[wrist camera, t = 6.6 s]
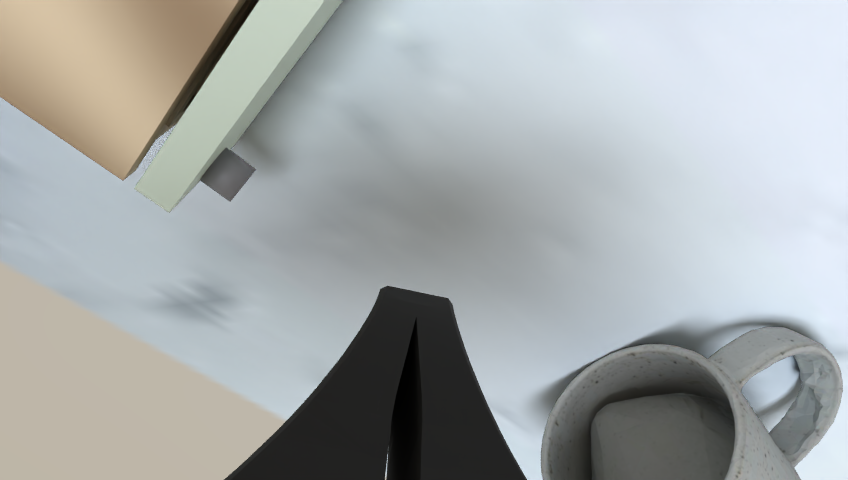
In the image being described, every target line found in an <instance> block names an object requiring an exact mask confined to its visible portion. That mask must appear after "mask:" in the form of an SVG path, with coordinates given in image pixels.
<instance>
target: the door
mask: <svg viewBox="0 0 848 480" xmlns="http://www.w3.org/2000/svg"><path fill="white" fill-rule="evenodd" d="M342 1H343V0H259V1H258V3H257V4H256V6H255V7H254V9H253V10H252V12H251V13H250V15H249V16H248V18H247V19H246V21H245V22H244V24H243V25H242V27H241V28H240V30H239V31H238V33H237V34H236V36H235V37H234V39H233V40H232V42H231V43H230V45H229V46H228V48H227V49H226V51H225V52H224V54H223V55H222V57H221V58H220V60H219V61H218V63H217V64H216V66H215V67H214V69H213V70H212V72H211V73H210V75H209V77H208V78H207V80H206V81H205V83H204V84H203V86H202V87H201V89H200V90H199V92H198V93H197V95H196V96H195V98H194V99H193V101H192V102H191V104H190V105H189V107H188V108H187V110H186V111H185V113H184V114H183V116H182V117H181V119H180V120H179V122H178V123H177V125H176V126H175V128H174V129H173V131H172V132H171V134H170V135H169V137H168V138H167V140H166V141H165V143H164V144H163V146H162V147H161V149H160V150H159V152H158V153H157V155H156V156H155V158H154V159H153V161H152V162H151V164H150V165H149V167H148V168H147V170H146V171H145V173H144V174H143V176H142V177H141V179H140V180H139V182H138V183H137V185H136V186H135V188H134V189H135V190H137V191H138V192H139V193H141V194H142V195H144V196H145V197H147V198H148V199H150V200H151V201H153V202H154V203H156V204H157V205H158V206H160V207H161V208H163V209H164V210H166V211H167V212H169V213H170V212H171V210H172V209H173V208H174V207H175V206H176V205H177V204H178V203H179V202H180V201H181V200H182V199H183V198H184V197H185V196H186V195H187V194H188V193H189V192H190V191H191V190H192V189H193V188H194V187H195V186H196V185H197V183H198V182H199V181H200V180H201V181H202V182H203V183H205V184H206V185H207V186H209V187H210V188H212V189H213V190H214V191H216V192H217V193H219V194H220V195H221V196H223V197H224V198H226V199H227V200H228V201H231V200H232V199H233V198H234V196H235V195H236V194H237V193H238V191H239V190H240V189H241V188H242V186H243V185H244V184H245V183H246V181H247V180H248V179H249V178H250V176H251V175H252V174H253V173H254V171H255V170H256V169H255V168H253V167H252V166H251V165H249V164H248V163H247V162H245V161H244V160H243V159H241V158H240V157H239V156H237V155H236V154H235V153H233V152H232V151H231V150H230V149H231V148H232V147H233V146H234V145H235V144H236V143H237V141H238V140H239V139H240V137H241V136H242V135H243V133H244V132H245V131H246V129H247V128H248V127H249V125H250V124H251V123H252V121H253V120H254V119H255V117H256V116H257V115H258V113H259V112H260V111H261V109H262V108H263V107H264V105H265V104H266V103H267V101H268V100H269V99H270V97H271V96H272V95H273V93H274V92H275V91H276V89H277V88H278V87H279V85H280V84H281V83H282V81H283V80H284V79H285V77H286V76H287V75H288V73H289V72H290V71H291V69H292V68H293V67H294V65H295V64H296V63H297V61H298V60H299V59H300V57H301V56H302V55H303V53H304V52H305V51H306V49H307V48H308V47H309V45H310V44H311V43H312V41H313V40H314V39H315V37H316V36H317V35H318V33H319V32H320V31H321V29H322V28H323V27H324V25H325V24H326V23H327V21H328V20H329V19H330V17H331V16H332V15H333V13H334V12H335V11H336V9H337V8H338V7H339V5H340V4H341V3H342Z"/></svg>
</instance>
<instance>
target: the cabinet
mask: <svg viewBox="0 0 848 480" xmlns="http://www.w3.org/2000/svg"><path fill="white" fill-rule="evenodd" d="M258 1H259V0H0V97H1V98H3V99H4V100H5V101H7V102H8V103H10V104H11V105H13V106H14V107H16V108H17V109H19V110H20V111H22V112H23V113H24V114H26V115H27V116H29V117H30V118H32V119H33V120H35V121H36V122H38V123H39V124H41V125H42V126H44V127H45V128H46V129H48V130H49V131H51V132H52V133H54V134H55V135H57V136H58V137H60V138H61V139H63V140H64V141H65V142H67V143H68V144H70V145H71V146H73V147H74V148H76V149H77V150H79V151H80V152H82V153H83V154H85V155H86V156H87V157H89V158H90V159H92V160H93V161H95V162H96V163H98V164H99V165H101V166H102V167H104V168H105V169H106V170H108V171H109V172H111V173H112V174H114V175H115V176H117V177H118V178H120V179H121V180H124V179H126V178H127V177H128V176H129V175H131V174H132V173H133V172H134V171H136V169H137V168H138V166H139V164H140V163H141V161H142V160H143V158H144V157H145V155H146V154H147V152H148V151H149V149H150V148H151V146H152V144H153V143H154V141H155V140H156V139H157V138H159V137H160V136H161V135H162V134H164V133H165V132H166V131H168V130H169V129H170V128H172V127H173V126H174V125H176V124H177V123H178V122H179V120H180V119H181V117H182V116H183V114H184V113H185V111H186V110H187V108H188V107H189V105H190V104H191V102H192V101H193V99H194V98H195V96H196V95H197V93H198V92H199V90H200V89H201V87H202V86H203V84H204V83H205V81H206V80H207V78H208V77H209V75H210V73H211V72H212V70H213V69H214V67H215V66H216V64H217V63H218V61H219V60H220V58H221V57H222V55H223V54H224V52H225V51H226V49H227V48H228V46H229V45H230V43H231V42H232V40H233V39H234V37H235V36H236V34H237V33H238V31H239V30H240V28H241V27H242V25H243V24H244V22H245V21H246V19H247V18H248V16H249V15H250V13H251V12H252V10H253V9H254V7H255V6H256V4H257V3H258Z"/></svg>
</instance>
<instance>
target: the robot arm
mask: <svg viewBox="0 0 848 480" xmlns="http://www.w3.org/2000/svg"><path fill="white" fill-rule="evenodd" d="M388 446H389V447H388ZM387 454H388V463H387ZM386 463H387V479H386V480H527V479H526V477H525V476H524V474H523V472H522V470H521V469H520V467H519V465H518V463H517V462H516V460H515V458H514V456H513V454H512V453H511V451H510V449H509V447H508V445H507V443H506V441H505V439H504V437H503V435H502V433H501V431H500V430H499V427H498V425H497V423H496V421H495V419H494V417H493V415H492V413H491V411H490V409H489V407H488V404H487V402H486V400H485V397H484V395H483V393H482V391H481V388H480V386H479V383H478V381H477V378H476V376H475V373H474V371H473V368H472V366H471V363H470V361H469V358H468V355H467V353H466V350H465V347H464V344H463V341H462V338H461V335H460V332H459V328H458V325H457V322H456V318H455V314H454V310H453V305H452V303H451V302H450V300H449V299H448V298H444V297H439V296H434V295H429V294H424V293H420V292H415V291H410V290H405V289H400V288H396V287H391V286H386V287H384V288H382V289H380V292H379V295H378V298H377V300H376V302H375V305H374V307H373V309H372V310H371V312H370V314H369V316H368V318H367V319H366V321H365V323H364V324H363V326H362V328H361V329H360V331H359V332H358V334H357V335H356V337H355V338H354V339H353V341H352V342H351V344H350V345H349V347H348V348H347V350H346V351H345V352H344V354H343V355H342V357H341V358H340V359H339V361H338V362H337V363H336V364H335V366H334V367H333V368H332V369H331V371H330V372H329V373H328V374H327V376H326V377H325V378H324V379H323V380H322V382H321V383H320V384H319V385H318V387H317V388H316V389H315V390H314V391H313V393H312V394H311V395H310V396H309V397H308V398H307V399H306V401H305V402H304V403H303V404H302V405H301V406H300V407H299V408H298V409H297V410H296V412H295V413H294V414H293V415H292V416H291V417H290V418H289V419H288V420H287V421H286V422H285V423H284V424H283V425H282V426H281V427H280V428H279V429H278V430H277V431H276V432H275V433H274V434H273V435H272V436H271V437H270V438H269V439H268V440H267V441H266V442H265V443H264V444H263V445H262V446H261V447H260V448H258V449H257V450H256V451H255V452H254V453H253V454H252V455H251V456H250V457H249V458H248V459H247V460H246V461H245V462H244V463H243V464H242V465H240V466H239V467H238V468H237V469H236V470H235V471H233V472H232V474H230V475H229V476H228V477H227V478H225V479H224V480H385V472H386Z"/></svg>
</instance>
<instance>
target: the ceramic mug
mask: <svg viewBox="0 0 848 480" xmlns="http://www.w3.org/2000/svg"><path fill="white" fill-rule="evenodd" d="M793 355H794V357H795V359H796V361H797V364H798V367H799V369H800V380H801V381H802V385H801V389H800V391H799V393H798V395H797V398H796V400H795V402H794V403H793V404H792V405H791V407H790V408H789V410H788V411H787V413H786V414H785V416H784V417H783V418H782V419H781V421H780V422H779V423H778V424H777V425H776V426H775V427H774V428H773V429H772V430H771V431H770V432H769V433H768V431H767V430H766V428H765V426H764V425H763V424H762V422H761V421H760V420H759V418H758V417H757V415H756V414H755V413H754V411H753V410H752V408H751V406H750V405H749V403H748V402H747V400H746V399H745V398H744V396H743V395H742V393H741V389H742V387H743V385H744V384H745V383H746V382H747V381H748V380H749V379H750V378H751V377H752V376H754V375H755V374H757V373H759V372H761V371H762V370H764V369H766V368H768V367H769V366H771V365H772V364H774V363H776V362H778V361H780V360H782V359H784V358H786V357H789V356H793ZM842 392H843V385H842V376H841V371H840V368H839V365H838V363H837V361H836V359H835V358H834V356H833V355H832V354H831V353H830V352H829V351H828V350H827V349H826V348H825V347H824V346H823V345H822V344H820V343H818V342H816V341H814V340H812V339H810V338H807V337H805V336H803V335H801V334H799V333H797V332H795V331H792V330H790V329H788V328H784V327H763V328H760V329H755V330H752V331H749V332H747V333H745V334H743V335H741V336H740V337H738V338H736V339H735V340H733V341H732V342H730V343H729V344H727V345H725V346H724V347H722V348H721V349H720V350H718V351H717V352H716V353H714V354H713V355H712V356H711V357H709V358H708V359H707V358H706V357H704V356H702V355H701V354H698V353H696V352H695V351H691V350H688V349H685V348H682V347H679V346H674V345H666V344H644V345H639V346H635V347H629V348H625V349H622V350H619V351H617V352H614V353H611V354H609V355H607V356H605V357H603V358H601V359H600V360H598V361H596V362H594V363H593V364H591V365H590V366H588V367H587V368H585V369H584V370H583V371H582V372H581V373H580V374H579V375H578V376H576V377H575V378H574V379H573V380H572V381H571V382H570V383H569V385H568V386H567V387H566V389H565V390H564V391H563V393H562V394H561V395H560V397H559V398H558V399H557V401H556V403H555V405H554V407H553V409H552V411H551V413H550V415H549V418H548V420H547V424H546V427H545V431H544V435H543V439H542V448H541V472H542V477H543V480H801V479H800V477H799V475H798V474H797V472H796V470H795V468H794V467H795V466H796V465H797V464H798V463H799V462H800V461H801V460H802V459H803V458H804V457H805V456H806V455H807V454H808V453H809V452H810V451H811V450H812V449H813V447H814V446H815V445H817V444H818V443H819V442H820V440H821V439H822V438H823V436H824V435H825V433H826V432H827V430H828V429H829V428H830V426H831V425H832V424H833V422H834V420H835V417H836V414H837V411H838V409H839V406H840V402H841V397H842Z"/></svg>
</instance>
